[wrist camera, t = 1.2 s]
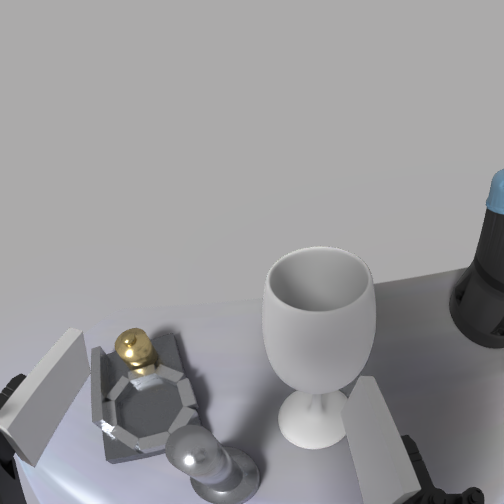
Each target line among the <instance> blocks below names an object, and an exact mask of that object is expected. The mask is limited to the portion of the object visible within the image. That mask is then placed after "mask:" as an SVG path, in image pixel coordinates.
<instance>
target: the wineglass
mask: <svg viewBox="0 0 504 504" xmlns="http://www.w3.org/2000/svg"><path fill="white" fill-rule="evenodd" d="M262 330H263V338H264V344H265V348H266V352H267V355H268V358H269V361H270V364H271V366H272V368H273V369H274V371H275V373H276V374H277V375H278V377H279V378H280V379H281V380H282V381H283V382H284V383H286V384H287V385H288V386H290V387H292V388H293V389H295V390H296V391H295V392H293V393H292V394H290V395H289V396H288V397H287V398H286V399H285V401H284V402H283V404H282V405H281V408H280V410H279V414H278V423H279V427H280V430H281V432H282V434H283V435H284V436H285V438H286V439H287V440H288V441H290V442H291V443H293V444H294V445H296V446H299V447H301V448H305V449H322V448H326V447H329V446H331V445H334V444H335V443H337V442H339V441H340V440H341V439H342V438H343V437H344V436H345V435H346V432H345V429H344V425H343V421H342V418H341V414H340V412H341V411H342V409H343V407H344V405H345V403H346V402H347V400H348V398H347V397H346V396H345V395H344V394H343V393H342V392H341V391H339V389H341V388H343V387H345V386H346V385H348V384H349V383H350V382H352V381H353V380H354V379H355V378H356V377H357V376H358V375H359V373H360V372H361V371H362V369H363V368H364V366H365V364H366V362H367V360H368V357H369V355H370V352H371V349H372V345H373V341H374V336H375V330H376V300H375V291H374V284H373V278H372V275H371V272H370V269H369V268H368V266H367V265H366V263H365V262H364V261H363V260H362V259H361V258H359V257H358V256H356V255H354V254H353V253H351V252H349V251H346V250H343V249H339V248H335V247H325V246H316V247H308V248H303V249H299V250H296V251H293V252H291V253H289V254H287V255H285V256H283V257H282V258H280V259H279V260H278V261H276V262H275V263H274V264H273V266H272V267H271V269H270V270H269V272H268V274H267V277H266V282H265V288H264V296H263V308H262Z"/></svg>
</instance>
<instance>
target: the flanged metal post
mask: <svg viewBox="0 0 504 504" xmlns="http://www.w3.org/2000/svg"><path fill="white" fill-rule="evenodd" d="M165 453H166V456H167V458H168V460H169V462H170V463H171V464H172V465H173V466H175V467H176V468H178V469H179V470H181V471H182V472H184V473H185V474H187V475H189V476H190V480H191V484H192V486H193V488H194V490H195V492H196V493H197V494H198V495H199V496H200V497H201V498H203V499H204V500H206V501H208V502H211V503H213V504H243V503H245V502H246V501H248V500H249V499H251V498H252V497H253V496H254V494H255V493H256V492H257V490H258V488H259V485H260V473H259V470H258V468H257V466H256V464H255V463H254V461H253V460H252V459H251V458H250V457H249V456H248V455H247V454H246V453H245V452H243V451H241V450H239V449H236V448H232V447H223V446H222V445H221V444H220V443H219V442H218V440H217V439H216V438H215V437H214V435H213V434H212V433H211V432H210V431H209V430H207V429H206V428H204V427H202V426H198V425H186V426H182V427H180V428H178V429H176V430H175V431H174V432H172V433H171V435H170V436H169V437H168V439H167V441H166V445H165Z"/></svg>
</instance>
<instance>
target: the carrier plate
mask: <svg viewBox="0 0 504 504" xmlns="http://www.w3.org/2000/svg"><path fill="white" fill-rule="evenodd" d="M115 350H116V352H113V353H110V354H107V355H106V353H105V352H104V351H103V349H102V348H101V347H100V346H99V347H96V348H93V349H92V351H91V403H92V422H93V423H94V424H96V425H97V426H98V427H99V428H101V429H102V432H103V441H104V449H105V456H106V461H108V462H110V463H112V464H116V463H122V462H127V461H132V460H137V459H142V458H147V457H151V456H155V455H159V454H164V453H165V445H166V441H167V439H168V437H169V436H170V435H171V433H172V432H174V431H175V430H176V429H178V428H180V427H182V426H186V425H198V426H202V424H201V421H200V418H199V415H198V412H197V408H199V406H198V403H197V400H196V397H195V394H194V391H193V388H192V384H191V382H190V380H189V379H188V378H187V377H186V374H185V371H184V367H183V364H182V360H181V357H180V353H179V349H178V346H177V342H176V339H175V337H174V335H173V333H170V334H167V335H165V336H162V337H159V338H156V339H153V340H149V338H148V336H147V335H146V333H145V332H144V331H143V330H142V329H139V328H133V329H129V330H126V331H125V332H123V333H122V334H121V335H120V336H119V337H118V338H117V340H116V342H115Z"/></svg>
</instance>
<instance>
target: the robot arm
mask: <svg viewBox="0 0 504 504" xmlns="http://www.w3.org/2000/svg"><path fill="white" fill-rule="evenodd" d="M486 206H487V209H486V214H485V218H484V223H483V227H482V231H481V235H480V239H479V242H478V246H477V250H476V253H475V257H474V260H473V262H472V263H471V265H470V266H469V267H468V269H467V270H466V271H465V273H464V274H463V275H462V277H461V278H460V279H459V281H458V282H457V284H456V285H455V287H454V290H453V293H452V296H451V299H450V312H451V316H452V318H453V320H454V322H455V324H456V325H457V327H458V328H459V329H460V331H461V332H462V333H463V334H464V335H465V336H467V337H468V338H469V339H470V340H472V341H473V342H475V343H477V344H479V345H482V346H484V347H488V348H504V169H502V170H500V171H498V172H497V173H496V174H495V175H494V177H493V179H492V183H491V187H490V193H489V197H488V198H487V200H486ZM90 374H91V371H90V367H89V362H88V357H87V352H86V347H85V341H84V335H83V331H81V330H77V329H74V328H71V327H70V328H69V329H68V330H67V331H66V332H65V333H64V335H62V337H61V338H60V339H59V340H58V341H57V342H56V343H55V344H54V345H53V347H52V348H51V349H50V350H49V351H48V352H47V353H46V354H45V356H44V357H43V358H42V359H41V360H40V361H39V363H38V364H37V365H36V366H35V367H34V369H33V370H32V371H31V372H30V373H29V374H28V376H25V375H23V374H19V375H18V376H16V377H14V378H12V380H11V381H10V382H9V383H8V384H7V386H6V388H4V389H3V390H2V392H1V393H0V504H27V503H26V500H25V497H24V493H23V490H22V487H21V483H20V479H19V475H18V471H17V467H16V463H15V459H14V457H13V456H14V454H15V452H16V454H17V455H18V456H19V457H20V459H21V460H23V461H25V462H26V463H28V464H30V465H31V466H33V467H35V466H36V464H37V462H38V460H39V459H40V457H41V455H42V453H43V451H44V449H45V448H46V446H47V444H48V442H49V441H50V439H51V437H52V435H53V434H54V432H55V430H56V429H57V427H58V425H59V423H60V422H61V420H62V418H63V417H64V415H65V413H66V412H67V410H68V408H69V407H70V405H71V404H72V402H73V400H74V399H75V397H76V396H77V394H78V392H79V391H80V389H81V388H82V386H83V385H84V383H85V381H86V380H87V378H88V377H89V375H90ZM340 414H341V418H342V421H343V425H344V429H345V432H346V436H347V440H348V443H349V447H350V451H351V454H352V458H353V462H354V466H355V470H356V474H357V478H358V482H359V486H360V490H361V494H362V498H363V502H364V504H484V494H483V493H482V491H481V490H480V489H479V488H476V487H470V488H468V489H467V490H466V491H464V492H463V493H462V494H446V493H445V492H444V491H443V490H441V489H438V488H435V487H434V485H433V483H432V481H431V478H430V476H429V474H428V471H427V469H426V466H425V464H424V462H423V461H422V457H421V455H420V454H419V450H418V448H417V446H416V443H415V442H414V441H413V440H412V439H411V438H410V437H409V436H408V435H405V436H400V434H399V432H398V430H397V427H396V425H395V423H394V420H393V418H392V416H391V414H390V411H389V409H388V407H387V405H386V402H385V400H384V398H383V396H382V394H381V391H380V389H379V387H378V385H377V383H376V381H375V378H374V376H359V378H358V380H357V382H356V384H355V386H354V388H353V390H352V392H351V394H350V396H349V398H348V400H347V402H346V403H345V405H344V407H343V409H342V411H341V412H340Z"/></svg>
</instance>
